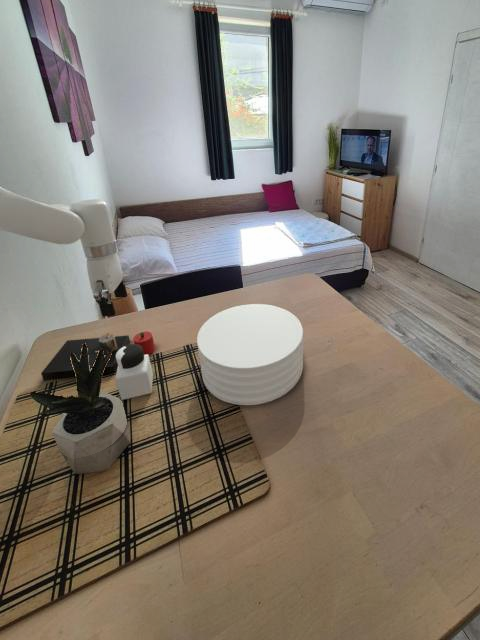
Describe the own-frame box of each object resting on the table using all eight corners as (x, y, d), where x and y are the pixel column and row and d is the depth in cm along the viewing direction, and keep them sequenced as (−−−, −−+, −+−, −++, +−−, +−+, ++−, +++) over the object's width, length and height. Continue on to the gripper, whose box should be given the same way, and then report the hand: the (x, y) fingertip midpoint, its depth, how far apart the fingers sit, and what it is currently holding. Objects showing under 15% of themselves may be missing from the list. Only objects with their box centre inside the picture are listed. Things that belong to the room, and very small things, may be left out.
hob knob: (115, 354, 93) (111, 340, 91) (100, 356, 92) (96, 342, 90) (119, 345, 96) (115, 332, 94) (105, 347, 96) (101, 333, 94)
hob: (43, 380, 87) (40, 372, 86) (69, 347, 100) (66, 339, 99) (118, 373, 89) (116, 365, 88) (134, 341, 102) (132, 334, 101)
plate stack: (214, 421, 74) (209, 383, 70) (194, 349, 98) (189, 317, 94) (321, 383, 85) (322, 347, 80) (279, 326, 108) (278, 296, 104)
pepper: (134, 356, 95) (129, 338, 93) (139, 345, 100) (135, 327, 97) (152, 355, 96) (148, 336, 93) (156, 344, 101) (153, 326, 98)
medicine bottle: (153, 374, 89) (145, 338, 84) (151, 393, 82) (143, 355, 78) (124, 380, 87) (114, 344, 82) (121, 401, 80) (110, 362, 76)
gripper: (98, 238, 91) (112, 291, 97) (68, 263, 75) (88, 325, 82) (126, 236, 92) (138, 289, 98) (103, 261, 76) (119, 322, 83)
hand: (115, 305), depth 90 cm, fingers open, 9 cm apart
